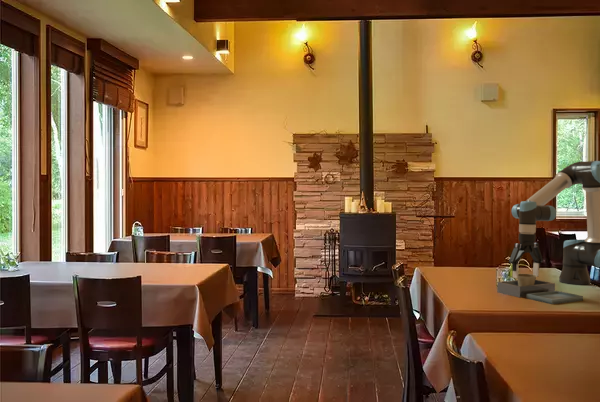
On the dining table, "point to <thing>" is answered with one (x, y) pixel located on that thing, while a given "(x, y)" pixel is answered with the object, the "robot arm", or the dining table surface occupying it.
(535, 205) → the robot arm
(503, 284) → the metal holder
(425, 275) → the dining table surface
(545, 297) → the tray
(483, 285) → the dining table surface
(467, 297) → the dining table surface
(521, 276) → the flower pot
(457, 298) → the dining table surface
